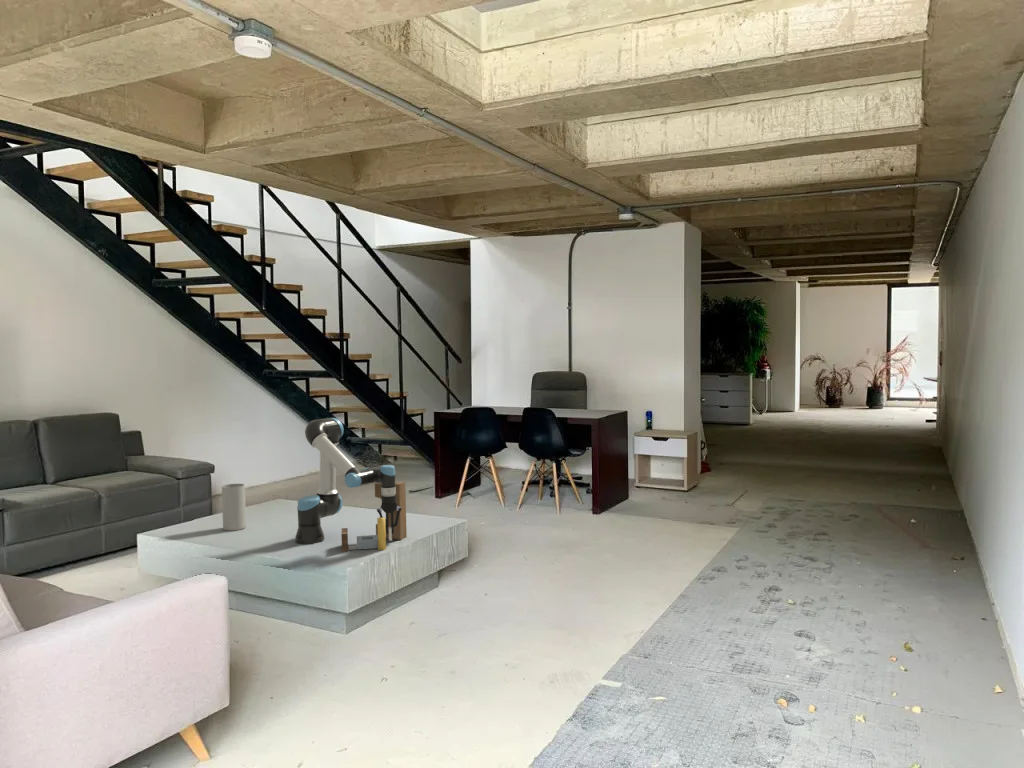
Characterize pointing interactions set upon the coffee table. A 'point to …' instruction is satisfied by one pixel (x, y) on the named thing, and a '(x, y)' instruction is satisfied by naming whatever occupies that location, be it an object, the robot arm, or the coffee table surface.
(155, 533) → the coffee table surface
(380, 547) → the dowel
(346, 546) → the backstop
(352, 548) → the dark grey flat board
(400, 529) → the decorative block
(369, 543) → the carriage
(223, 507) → the cylinder vase
